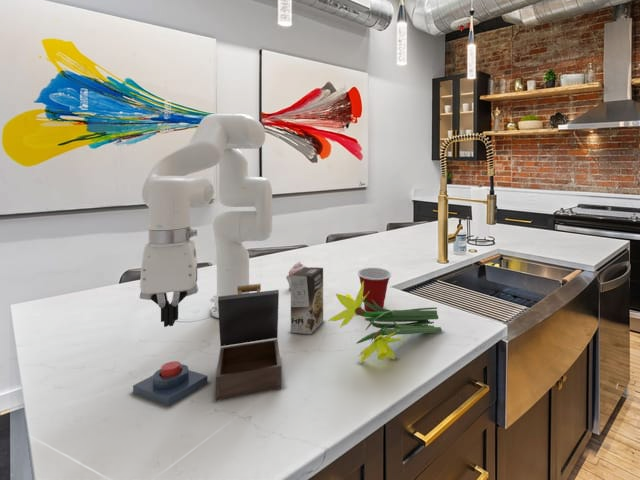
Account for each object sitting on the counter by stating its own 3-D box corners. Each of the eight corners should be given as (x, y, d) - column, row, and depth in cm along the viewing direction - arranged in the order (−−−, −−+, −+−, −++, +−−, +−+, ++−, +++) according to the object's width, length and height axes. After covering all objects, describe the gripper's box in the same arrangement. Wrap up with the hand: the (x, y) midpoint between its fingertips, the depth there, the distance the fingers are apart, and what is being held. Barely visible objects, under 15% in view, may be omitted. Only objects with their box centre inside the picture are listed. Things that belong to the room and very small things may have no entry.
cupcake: (308, 293, 145) (308, 265, 145) (282, 293, 145) (282, 265, 145) (314, 284, 154) (314, 258, 154) (290, 284, 155) (290, 258, 154)
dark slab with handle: (278, 293, 92) (277, 276, 96) (217, 300, 87) (219, 282, 92) (277, 338, 98) (276, 320, 102) (220, 346, 93) (221, 327, 98)
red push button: (157, 375, 85) (157, 367, 85) (173, 367, 88) (173, 359, 88) (168, 379, 83) (168, 371, 83) (184, 371, 86) (184, 363, 86)
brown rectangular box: (281, 388, 85) (281, 365, 85) (215, 401, 81) (215, 377, 81) (277, 358, 98) (277, 338, 98) (220, 368, 94) (220, 347, 94)
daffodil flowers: (464, 344, 107) (370, 355, 82) (423, 360, 114) (324, 374, 89) (445, 282, 116) (355, 275, 91) (408, 300, 123) (314, 297, 98)
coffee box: (311, 334, 111) (311, 276, 111) (289, 332, 112) (289, 274, 112) (324, 321, 120) (324, 267, 120) (304, 319, 121) (303, 266, 121)
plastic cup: (378, 318, 122) (378, 278, 122) (350, 311, 128) (350, 273, 128) (398, 307, 131) (397, 270, 131) (371, 300, 137) (370, 265, 137)
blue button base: (132, 393, 84) (132, 376, 84) (173, 372, 92) (173, 357, 92) (168, 407, 79) (168, 389, 79) (207, 383, 87) (207, 367, 87)
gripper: (210, 231, 91) (210, 313, 91) (133, 236, 86) (133, 322, 86) (206, 237, 84) (207, 325, 84) (122, 242, 79) (122, 336, 79)
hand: (169, 323), depth 85 cm, fingers closed
